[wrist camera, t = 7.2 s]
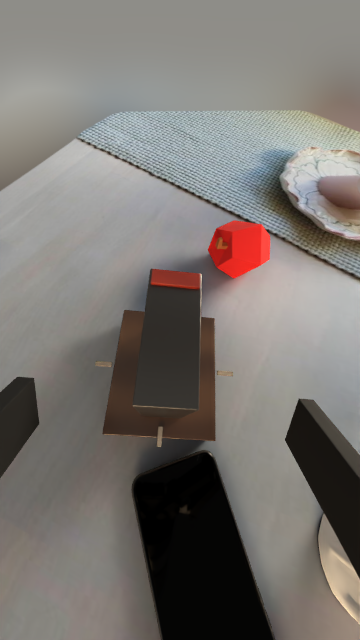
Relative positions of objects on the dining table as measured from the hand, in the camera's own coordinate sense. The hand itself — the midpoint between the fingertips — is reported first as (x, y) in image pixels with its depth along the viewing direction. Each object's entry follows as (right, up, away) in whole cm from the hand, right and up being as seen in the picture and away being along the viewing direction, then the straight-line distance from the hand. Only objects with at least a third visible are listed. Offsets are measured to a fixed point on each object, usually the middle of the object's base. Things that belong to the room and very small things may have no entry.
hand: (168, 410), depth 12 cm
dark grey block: (-1, 0, +9) cm, 9 cm away
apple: (+7, +12, +19) cm, 24 cm away
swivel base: (-1, -1, +12) cm, 12 cm away
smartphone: (+2, -14, +6) cm, 16 cm away
